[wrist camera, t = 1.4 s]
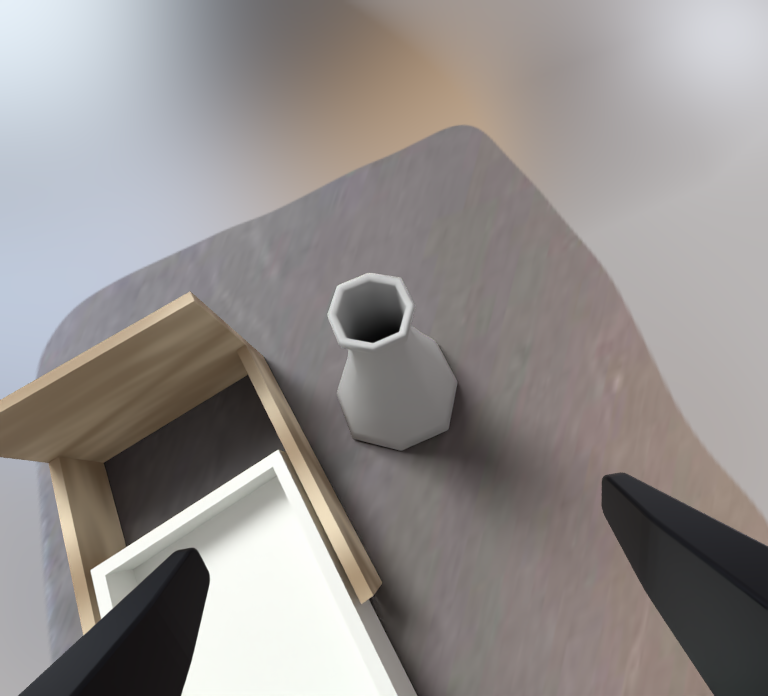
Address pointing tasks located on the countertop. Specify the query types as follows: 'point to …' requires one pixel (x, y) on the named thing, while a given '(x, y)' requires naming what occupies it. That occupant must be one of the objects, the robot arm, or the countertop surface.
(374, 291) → the flask
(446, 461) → the countertop surface
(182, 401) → the dock
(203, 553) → the tray
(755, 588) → the robot arm
